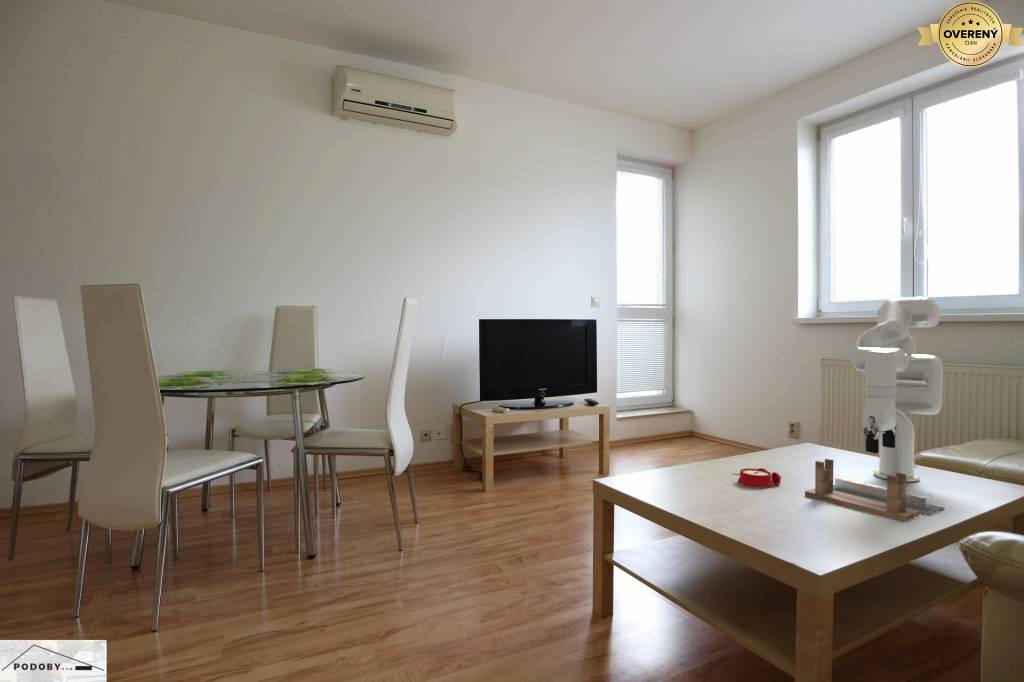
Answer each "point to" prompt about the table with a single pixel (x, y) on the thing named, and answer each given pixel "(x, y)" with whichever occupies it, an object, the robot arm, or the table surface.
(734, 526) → the table surface
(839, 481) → the steel rail
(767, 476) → the alarm clock
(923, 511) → the rubber mat
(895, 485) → the walnut rail stand
